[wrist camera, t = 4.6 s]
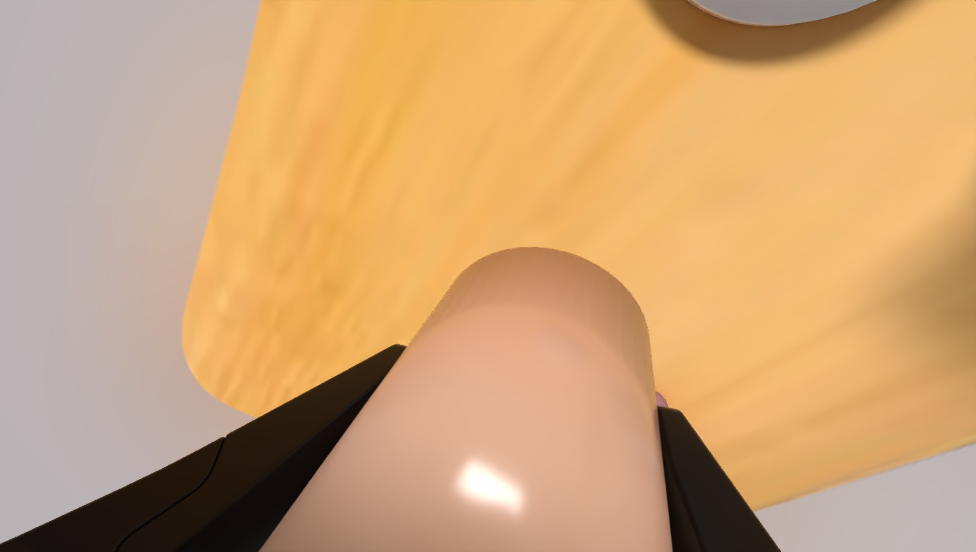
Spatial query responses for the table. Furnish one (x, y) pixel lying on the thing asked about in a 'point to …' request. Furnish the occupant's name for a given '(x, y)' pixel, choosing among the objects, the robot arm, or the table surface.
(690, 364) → the table surface
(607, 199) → the table surface
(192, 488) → the robot arm
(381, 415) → the cup
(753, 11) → the coaster
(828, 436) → the table surface
